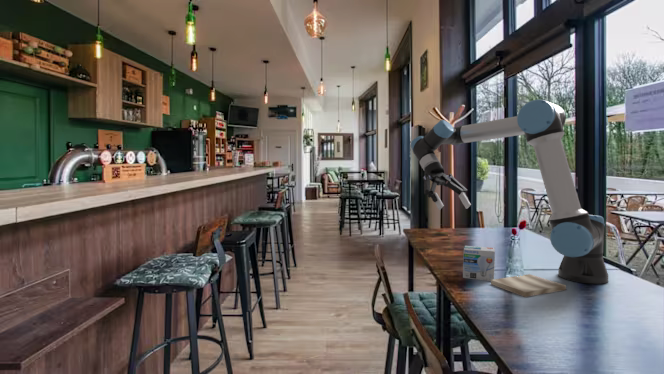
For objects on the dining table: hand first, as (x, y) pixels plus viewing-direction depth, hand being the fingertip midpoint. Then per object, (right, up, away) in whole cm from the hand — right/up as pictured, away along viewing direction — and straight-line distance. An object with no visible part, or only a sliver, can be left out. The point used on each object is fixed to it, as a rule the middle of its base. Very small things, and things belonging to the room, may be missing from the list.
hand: (455, 207), depth 150 cm
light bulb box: (+5, -25, -10) cm, 28 cm away
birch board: (+18, -25, -21) cm, 37 cm away
